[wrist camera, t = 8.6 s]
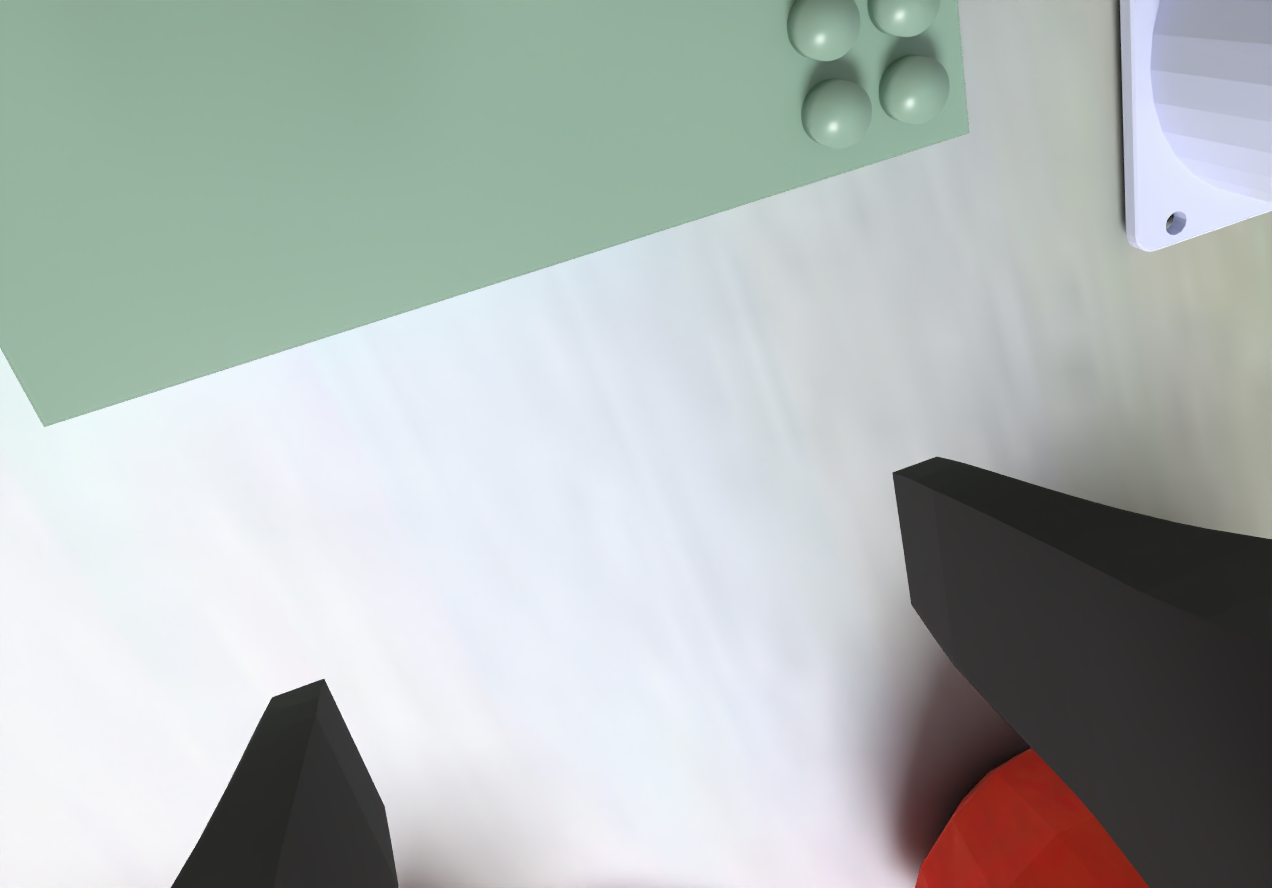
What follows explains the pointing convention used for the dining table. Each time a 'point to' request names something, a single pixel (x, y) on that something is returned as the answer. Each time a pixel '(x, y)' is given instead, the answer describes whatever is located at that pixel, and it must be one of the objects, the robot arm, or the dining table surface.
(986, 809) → the apple
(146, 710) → the dining table surface
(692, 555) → the dining table surface
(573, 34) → the building board
